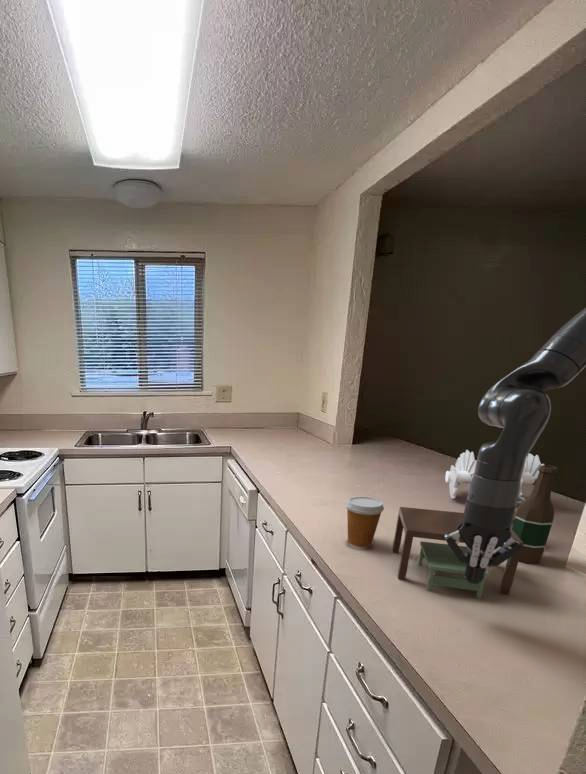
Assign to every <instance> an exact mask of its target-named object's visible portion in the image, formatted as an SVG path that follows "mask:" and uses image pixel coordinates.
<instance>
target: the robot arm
mask: <svg viewBox="0 0 586 774" xmlns="http://www.w3.org/2000/svg"><path fill="white" fill-rule="evenodd" d="M585 368H586V307H584V308H583V309H582V310H581V311H579V312H578V313H576V314H575V315H574V316H572V317H571V318H570V319H569V320H568V321H567V322H565V324H563V325H562V326H561V327H560V328H559V329H558V330H556V331H555V332H554V334H553V335H551V337H550V338H549V339H547V340H546V342H545V343H544V344H543V345H542V346H541V347H540V348H539V349H538V350H537V351H536V352H535V354H533V356H532V357H531V358H530V359H529V360H527V361H526V362H524V363H523V364H521V365H519V366H518V367H516V368H515V369H514V370H512V371H511V372H510V373H509V374H507V375H505V376H503V378H501V379H500V380H498V381H497V382H496V383H494V385H492V386H491V387H490V388H489V389H488V390H487V391H486V392H485V393H484V395H483V396H482V398H481V400H480V402H479V404H478V408H477V414H478V417H479V419H480V421H481V422H483V423H484V424H485V425H488V426H490V427H495V428H499V429H502V431H501V434H500V435H499V437H498V439H497V440H493V441H487V442H485V443H483V444H482V445H481V446H480V448H479V450H478V454H477V456H476V457H477V458H476V460H477V462H476V466H475V471H474V475H473V478H472V481H471V483H470V487H468V491H467V496H466V502H465V505H464V509H463V510H464V511H463V513H464V515H463V520H462V523H461V524H460V525H459V526H458V529H457V531H455V532H453V533H451V534H449V533H445V534H444V538H445V540H446V541H445V542H446V543H447V544H448V545H449V546H450V547H451V549H452V550H453V552H454V553H455V555H456V556H457V557H458V559H459V560H460V562H462V563H467V565H466V569H465V574H463V575H464V578H466V580H468V582H469V583H472V584H478V583H479V582H481V581H482V580H483V577H484V573H485V569H486V570H487V568H488V567H492V566H493V567H498V566H500V565H501V564H502V563H504V562H506V561H507V560H508V558H510V557H511V556H513V555H514V554H516V553H517V552H519V551H520V550H521V549H522V548H523V547H522V545H521V544H520V543H519V542H518V541H517V540H515V539H513V538H512V537H511V536H512V534H511V531H510V527H511V524H512V520H513V516H514V512H515V508H516V504H517V502H518V500H519V492H520V483H521V477H522V473H523V469H524V465H525V461H526V457H527V458H528V454H529V453H530V452H531V450H532V449H533V447H534V446H535V444H536V442H537V441H538V439H539V437H540V435H541V434H542V432H543V431H544V429H545V427H546V425H547V424H548V422H549V419H550V416H551V412H552V405H551V404H552V403H551V399H550V397H549V395H548V394H547V393H546V392H545V391H548V390H554V389H555V390H556V389H559V388H563V387H565V386H567V385H568V384H569V383H571V382H572V381H573V380H574V379H575V378H576V377H577V376H578V375H579V374H580V373H581V372H582V371H583V370H584V369H585ZM460 536H461V537H462V539H463V541H464V542H465V543H464V544H465V546H466V547H467V550H468V552H467V555H466V554H464V553H463V552H462V550H461V549H460V547H459V546H460V545H459V543H461V542H460V540H459V537H460ZM502 544H503V545H504V546H503V547H500V546H501V545H502ZM495 550H496V551H495Z"/></svg>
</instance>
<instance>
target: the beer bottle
mask: <svg viewBox="0 0 586 774" xmlns="http://www.w3.org/2000/svg"><path fill="white" fill-rule="evenodd" d="M538 471H539V474H538V477H537V479H535V482H534V484H533V488H532V490H531V493H530V495H529V496H528V497H527V498H525V500H524V501H523V502H522V503H521V505H520V506H519V508H518V511H517V513H516V516H515V520H514V523H513V527H512V530H513V532H514V533H515V534H516V535H517V536H518V537H519V538H520V539H521V541H522V542H523V543H524V545H523V548H522V551H521V555H520V558H519V562H520V563H522V564H523V563H524V564H530V565H531V564H539V563H540V562H541V560H542V558H543V555H544V551H545V548H546V545H547V542H548V540H549V536H550V532H551V529H552V526H553V522H554V517H555V507H554V504H553V502H552V500H551V497H552V490H553V486H554V481H555V477H556V474H558V467H557V466H554V465H547V464H546V465H545V464H544V465H542V466H540V468H539V469H538ZM519 562H518V563H519Z"/></svg>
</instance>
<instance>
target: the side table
mask: <svg viewBox="0 0 586 774" xmlns="http://www.w3.org/2000/svg"><path fill="white" fill-rule="evenodd" d="M463 515H464V512H459V511H458V512H457V511H447V510H437V509H427V508H418V507H417V508H416V507H405V506H399V508H398V514H397V519H396V523H395V531H394V536H393V542H392V547H391V553H392V554H400V550H401V554H400V560H399V566H398V570H397V579H398V580H403V581H405V580H406V577H407V572H408V567H409V561H410V556H411V552H412V547H413V540H414V538H418V539H426V540H435V541H445V542H446V540H445V538H444V534H445V533H449V534H451V533H453V532H455V531H457V529H458V526H459V525H460V524H461V523H462V520H463ZM510 531H511V534H512V536H511V537H512V538H513V539H515V540H517V541H518V542H519V543H520V544H521V545H522V547H523V545H524V543H523V542H522V541H521V539H520V538H519V537H518V536H517V535H516V534H515V533H514V532H513V530H512V529H511V528H510ZM403 532H404V538H403ZM402 539H403V543H402ZM459 540H460V542H459V543H461V544H462V543H463V544H465V542H464V541H463V539H462V537H461V536H460V537H459ZM401 543H402V549H400V548H401ZM503 546H504V545H503V544H502V545H501V546H500V547H499V548H501V547H503ZM521 551H522V549H521V550H520V551H519V552H517V553H516V554H514V555H513V556H511V557H510V558H508V559H507V560H506V564H505V567H504V571H503V574H502V578H501V581H500V586H499V589H498V592H499V593H500V594H501V595H507V596H509V595H510V592H511V589H512V585H513V582H514V579H515V576H516V572H517V568H518V565H519V558H520V555H521Z"/></svg>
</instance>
